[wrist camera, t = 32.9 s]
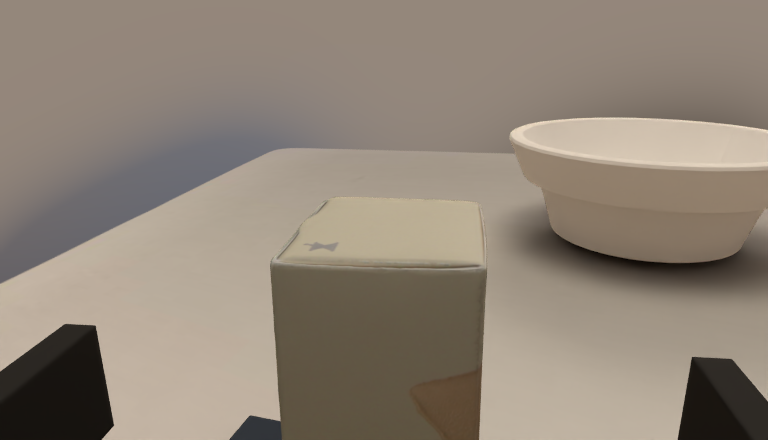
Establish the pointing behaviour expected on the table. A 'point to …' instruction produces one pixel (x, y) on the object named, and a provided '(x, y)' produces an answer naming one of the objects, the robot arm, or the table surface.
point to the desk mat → (258, 429)
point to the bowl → (648, 184)
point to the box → (381, 321)
